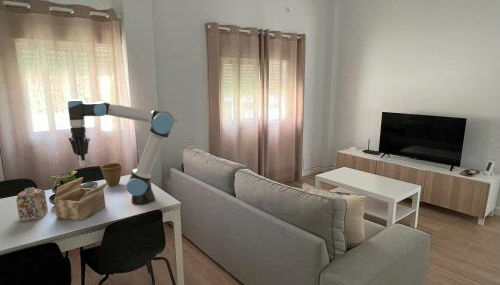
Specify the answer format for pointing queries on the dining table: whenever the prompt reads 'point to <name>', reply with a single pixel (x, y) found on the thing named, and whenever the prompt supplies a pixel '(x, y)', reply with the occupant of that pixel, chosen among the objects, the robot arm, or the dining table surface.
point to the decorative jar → (31, 204)
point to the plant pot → (112, 173)
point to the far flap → (68, 187)
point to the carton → (79, 204)
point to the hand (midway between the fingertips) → (82, 165)
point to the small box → (89, 185)
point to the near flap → (94, 191)
